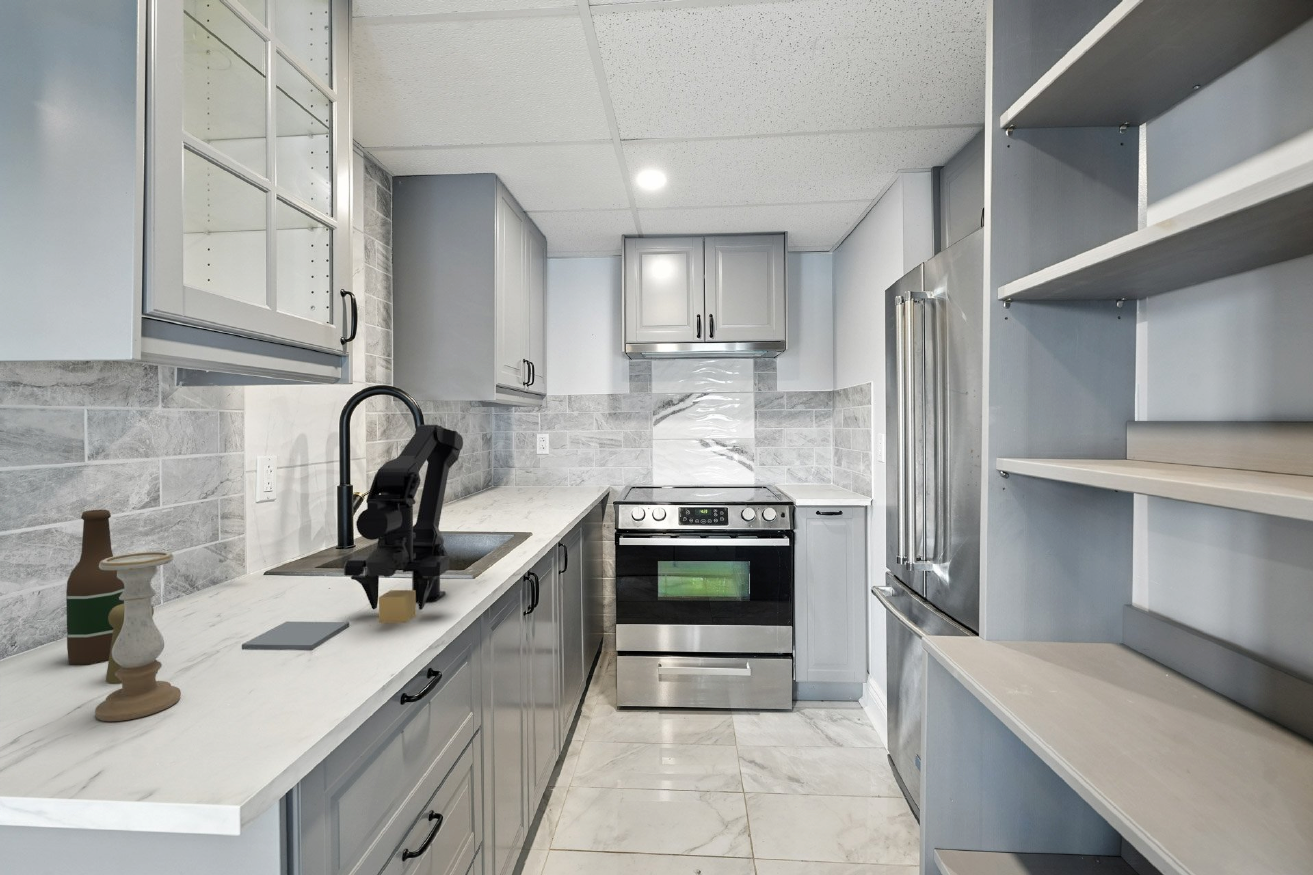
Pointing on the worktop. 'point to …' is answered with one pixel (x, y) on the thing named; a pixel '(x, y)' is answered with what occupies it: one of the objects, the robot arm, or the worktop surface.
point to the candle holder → (137, 642)
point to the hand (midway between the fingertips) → (397, 609)
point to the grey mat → (296, 635)
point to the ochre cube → (397, 606)
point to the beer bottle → (92, 594)
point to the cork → (116, 622)
